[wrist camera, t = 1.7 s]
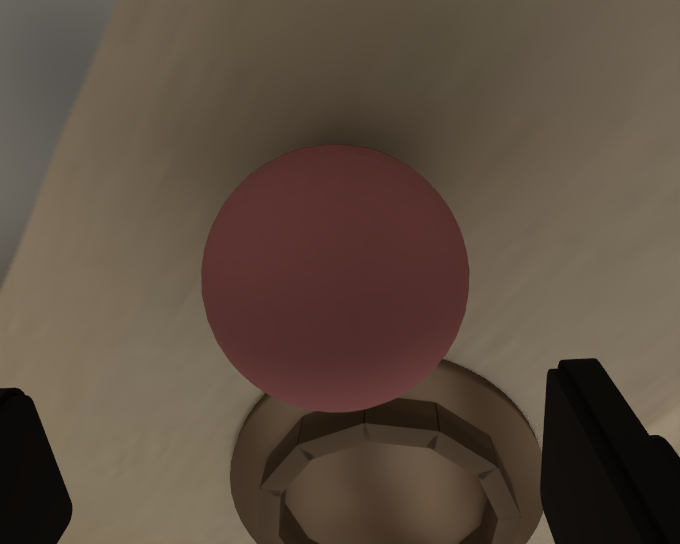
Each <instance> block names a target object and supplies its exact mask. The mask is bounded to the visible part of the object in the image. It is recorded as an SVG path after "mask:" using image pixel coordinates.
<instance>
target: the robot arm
mask: <svg viewBox="0 0 680 544" xmlns="http://www.w3.org/2000/svg"><path fill="white" fill-rule="evenodd" d="M540 496H541V503H542V507H543V510H544V513H545V516H546V519H547V522H548V525H549V527H550V530H551V533H552V536H553V539H554V541H555V544H680V457H679V456H678V454H677V453H676V452H675V450H674V449H673V448H672V446H671V445H670V444H669V443H668V442H667V440H666V439H665V438H663V437H661V436H659V435H649V434H648V433H647V431H646V430H645V428H644V427H643V425H642V424H641V422H640V421H639V419H638V418H637V417H636V415H635V414H634V412H633V411H632V409H631V408H630V406H629V405H628V403H627V402H626V400H625V399H624V397H623V396H622V394H621V393H620V392H619V390H618V389H617V387H616V386H615V384H614V383H613V381H612V380H611V378H610V377H609V375H608V374H607V372H606V371H605V369H604V368H603V367H602V365H601V364H600V362H599V361H598V360H597V359H595V358H589V359H569V360H561V361H560V362H559V364H558V369H549V370H548V373H547V384H546V400H545V415H544V431H543V447H542V463H541V478H540ZM71 516H72V503H71V499H70V497H69V494H68V492H67V489H66V486H65V484H64V481H63V478H62V476H61V473H60V471H59V468H58V465H57V463H56V460H55V457H54V455H53V452H52V449H51V447H50V444H49V442H48V439H47V436H46V434H45V431H44V428H43V426H42V423H41V420H40V418H39V415H38V413H37V410H36V407H35V405H34V402H33V400H32V398H30V397H29V396H27V395H25V394H24V392H23V391H22V390H20V389H18V388H0V544H57V543H58V541H59V539H60V538H61V536H62V534H63V533H64V531H65V529H66V528H67V526H68V524H69V522H70V520H71Z"/></svg>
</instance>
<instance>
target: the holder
mask: <svg viewBox="0 0 680 544" xmlns="http://www.w3.org/2000/svg"><path fill="white" fill-rule="evenodd" d="M541 463H542V454H541V451H540V448H539V445H538V442H537V440H536V437H535V434H534V432H533V431H532V429H531V427H530V425H529V423H528V421H527V419H526V418H525V417H524V415H523V414H522V413H521V411H520V410H519V408H518V407H517V406H516V405H515V404H514V403H513V402H512V401H511V400H510V399H509V398H508V397H507V396H506V395H505V394H504V393H503V392H502V391H501V390H499V389H498V388H497V387H495V386H494V385H493V384H491V383H490V382H489V381H487V380H486V379H484V378H482V377H481V376H479V375H477V374H475V373H473V372H472V371H470V370H468V369H466V368H463V367H461V366H458V365H456V364H453V363H451V362H449V361H445V360H441V361H440V362H439V364H438V365H437V366H436V367H435V369H434V370H433V371H432V372H431V373H429V374H428V375H427V376H426V377H425V378H424V379H423V380H422V381H421V382H419V383H418V384H417V385H416V386H414V387H413V388H412V389H411V390H409V391H407V392H406V393H404V394H402V395H400V396H399V397H397V398H395V399H393V400H391V401H389V402H386V403H383V404H380V405H377V406H374V407H371V408H369V409H364V410H358V411H352V412H331V413H330V412H322V411H313V410H307V409H303V408H300V407H296V406H293V405H290V404H288V403H285V402H282V401H280V400H278V399H276V398H274V397H272V396H270V395H268V394H267V393H266V394H265V396H264V397H263V398H262V399H261V400H260V401H259V402H258V403H257V404H256V405H255V407H254V408H253V410H252V411H251V413H250V414H249V416H248V417H247V419H246V421H245V423H244V425H243V427H242V430H241V432H240V434H239V437H238V440H237V443H236V446H235V450H234V454H233V457H232V461H231V471H230V483H231V493H232V497H233V501H234V504H235V508H236V510H237V512H238V515H239V517H240V519H241V521H242V523H243V525H244V526H245V528H246V529H247V531H248V532H249V534H250V535H251V537H252V538H253V539H254V540H255V541H256V543H257V544H526V543H527V542H528V540H529V539H530V537H531V536H532V534H533V532H534V531H535V529H536V528H537V526H538V523H539V521H540V518H541V516H542V514H543V507H542V503H541V496H540V478H541Z"/></svg>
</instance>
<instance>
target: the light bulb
mask: <svg viewBox="0 0 680 544" xmlns="http://www.w3.org/2000/svg"><path fill="white" fill-rule="evenodd" d="M201 271H202V296H203V301H204V306H205V310H206V315H207V319H208V322H209V324H210V327H211V329H212V331H213V334H214V336H215V338H216V341H217V343H218V344H219V346H220V347H221V349H222V350H223V352H224V353H225V355H226V356H227V358H228V359H229V361H230V362H231V363H232V364H233V366H234V367H235V368H236V369H237V370H238V371H239V372H240V373H241V374H242V375H243V376H244V377H245V378H247V379H248V380H249V381H250V382H251V383H252V384H254V385H255V386H256V387H258V388H259V389H261V390H262V391H264V392H265V393H267V394H268V395H270V396H272V397H274V398H276V399H278V400H280V401H282V402H285V403H288V404H290V405H293V406H296V407H300V408H303V409H307V410H313V411H322V412H330V413H331V412H352V411H358V410H364V409H369V408H371V407H374V406H377V405H380V404H383V403H386V402H389V401H391V400H393V399H395V398H397V397H399V396H400V395H402V394H404V393H406V392H407V391H409V390H411V389H412V388H413V387H414V386H416V385H417V384H418V383H419V382H421V381H422V380H423V379H424V378H425V377H426V376H427V375H428V374H429V373H431V372H432V371H433V370H434V369H435V367H436V366H437V365H438V364H439V362H440V361H441V360H442V359H443V357H444V356H445V355H446V354H447V352H448V350H449V348H450V347H451V345H452V343H453V341H454V340H455V338H456V336H457V333H458V331H459V328H460V325H461V323H462V320H463V317H464V314H465V311H466V304H467V298H468V291H469V265H468V259H467V252H466V248H465V244H464V240H463V237H462V234H461V231H460V228H459V226H458V224H457V222H456V220H455V218H454V216H453V214H452V212H451V210H450V208H449V207H448V206H447V204H446V203H445V201H444V200H443V198H442V197H441V195H440V194H439V193H438V192H437V191H436V190H435V189H434V188H433V186H432V185H431V184H430V183H429V182H428V181H427V180H425V179H424V178H423V177H422V176H421V175H420V174H419V173H417V172H416V171H415V170H413V169H412V168H410V167H409V166H407V165H406V164H404V163H402V162H400V161H399V160H397V159H395V158H393V157H391V156H388V155H386V154H384V153H381V152H379V151H375V150H372V149H368V148H365V147H357V146H348V145H337V144H331V145H321V146H314V147H308V148H303V149H299V150H295V151H292V152H289V153H287V154H284V155H282V156H280V157H278V158H276V159H274V160H272V161H270V162H268V163H266V164H264V165H263V166H262V167H260V168H259V169H258V170H256V171H255V172H253V173H252V174H251V175H250V176H248V177H247V178H246V179H245V180H244V181H243V182H242V183H241V184H240V185H239V186H238V187H237V188H236V189H235V191H234V192H233V193H232V194H231V195H230V197H229V198H228V199H227V201H226V202H225V203H224V205H223V206H222V208H221V210H220V212H219V213H218V215H217V217H216V219H215V221H214V223H213V225H212V228H211V230H210V233H209V235H208V239H207V242H206V245H205V249H204V255H203V262H202V269H201Z"/></svg>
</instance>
